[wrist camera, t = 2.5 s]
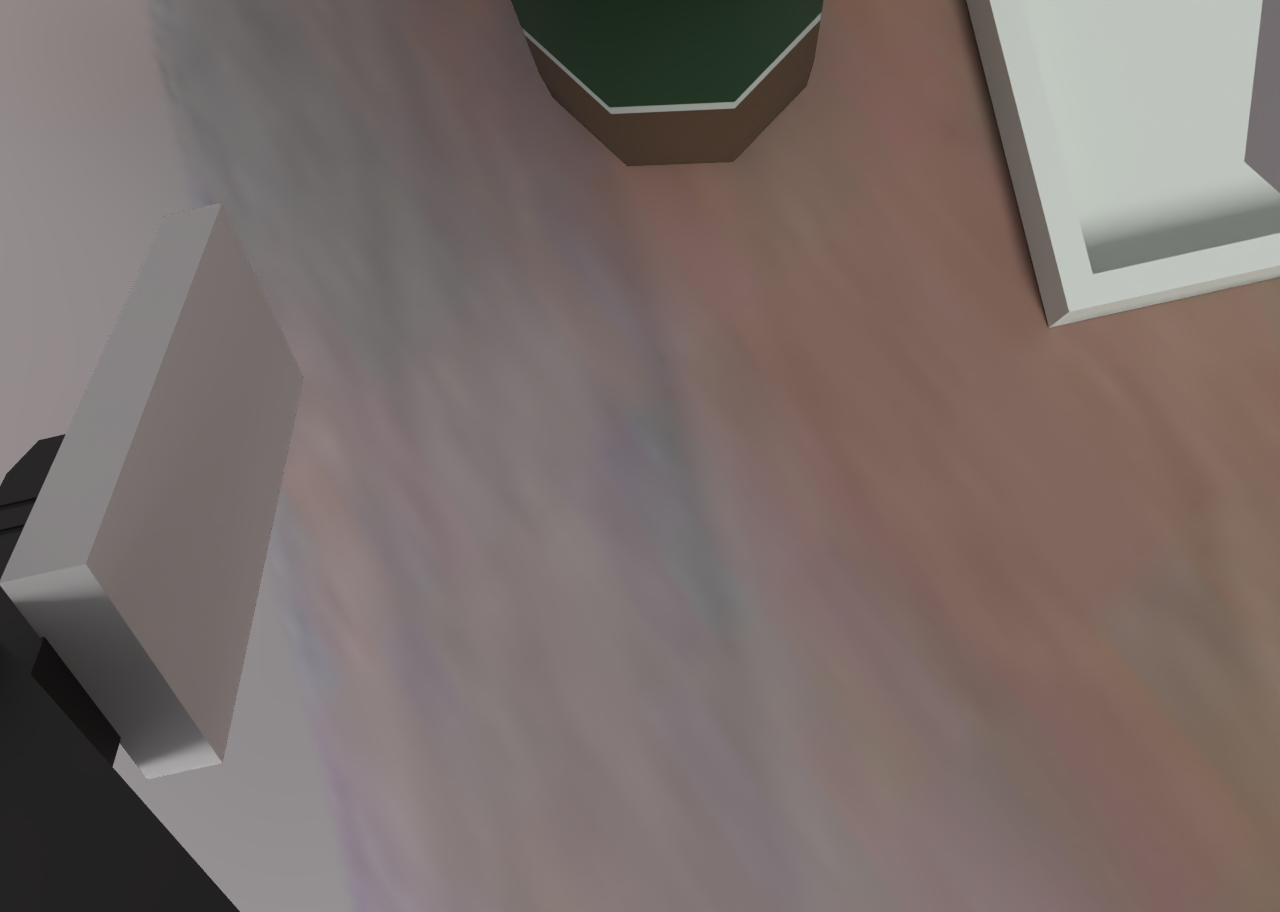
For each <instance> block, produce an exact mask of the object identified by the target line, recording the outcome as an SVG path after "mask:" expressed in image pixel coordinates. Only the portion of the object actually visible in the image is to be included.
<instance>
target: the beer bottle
mask: <svg viewBox="0 0 1280 912" xmlns="http://www.w3.org/2000/svg"><path fill="white" fill-rule="evenodd" d="M511 1H512V4H513V6H514V9H515V12H516V14H517V17H518V19H519V22H520V24H521V27H522V30H523V32H524V35H525V37H526V40H527V42H528V45H529V48H530V50H531V53H532V55H533V58H534V61H535V63H536V66H537V68H538V71H539V73H540V75H541V77H542V79H543V81H544V82H545V84H546V86H547V88H548V90H549V91H550V93H551V95H552V97H553V98H554V99H555V100H556V101H557V102H558V103H559V104H560V105H562V106H563V107H564V108H565V109H566V110H567V111H568V112H569V113H570V114H571V115H572V116H573V117H575V118H576V119H577V120H578V121H579V122H580V123H581V124H582V125H583V126H584V127H585V128H587V129H588V130H589V131H590V132H591V133H592V134H593V135H594V136H595V137H596V138H597V139H598V140H600V141H601V142H602V143H603V144H604V145H605V146H606V147H607V148H608V149H609V150H610V151H612V152H613V153H614V154H615V155H616V156H617V157H618V158H619V159H620V160H621V161H622V162H624V163H625V164H626V165H627V166H643V165H667V164H691V163H715V162H733V161H734V160H735V159H736V158H737V157H738V156H739V155H740V154H741V153H742V152H743V151H744V150H745V149H746V148H747V147H748V146H749V145H750V144H751V143H752V142H753V141H754V140H755V139H756V138H757V136H758V135H759V134H760V133H761V132H762V131H763V130H764V129H765V128H766V127H767V126H768V125H769V124H770V123H771V122H772V121H773V120H774V119H775V118H776V117H777V116H778V115H779V114H780V113H781V112H782V111H783V110H784V109H785V108H786V106H787V105H788V104H789V103H790V102H791V101H792V100H793V99H794V98H795V97H796V96H797V95H798V94H799V93H800V92H801V91H802V90H803V89H804V88H805V87H806V86H807V82H808V79H809V76H810V72H811V69H812V66H813V62H814V58H815V51H816V45H817V38H818V32H819V25H820V19H821V12H822V6H823V0H511Z"/></svg>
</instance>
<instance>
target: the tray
mask: <svg viewBox="0 0 1280 912" xmlns="http://www.w3.org/2000/svg"><path fill="white" fill-rule="evenodd" d="M966 2H967V6H968V10H969V14H970V18H971V22H972V26H973V30H974V34H975V38H976V42H977V46H978V49H979V53H980V57H981V61H982V65H983V69H984V73H985V77H986V81H987V85H988V89H989V93H990V97H991V101H992V105H993V109H994V113H995V117H996V121H997V125H998V129H999V132H1000V136H1001V140H1002V144H1003V148H1004V152H1005V156H1006V160H1007V164H1008V168H1009V172H1010V176H1011V180H1012V184H1013V188H1014V192H1015V196H1016V200H1017V204H1018V208H1019V212H1020V216H1021V219H1022V223H1023V227H1024V231H1025V235H1026V239H1027V243H1028V247H1029V251H1030V255H1031V259H1032V263H1033V267H1034V271H1035V275H1036V279H1037V283H1038V287H1039V291H1040V295H1041V299H1042V303H1043V306H1044V310H1045V314H1046V318H1047V322H1048V326H1049V328H1050V327H1055V326H1059V325H1064V324H1068V323H1073V322H1077V321H1082V320H1086V319H1091V318H1095V317H1100V316H1105V315H1109V314H1114V313H1118V312H1123V311H1127V310H1132V309H1136V308H1141V307H1145V306H1150V305H1155V304H1159V303H1164V302H1168V301H1173V300H1177V299H1182V298H1186V297H1191V296H1195V295H1200V294H1205V293H1209V292H1214V291H1218V290H1223V289H1227V288H1232V287H1236V286H1241V285H1245V284H1250V283H1255V282H1259V281H1264V280H1268V279H1273V278H1277V277H1280V193H1279V192H1278V191H1277V190H1275V189H1274V188H1273V187H1272V186H1271V185H1270V184H1269V183H1268V182H1266V181H1265V180H1264V179H1263V178H1262V177H1261V176H1260V175H1259V174H1257V173H1256V172H1255V171H1254V170H1253V169H1252V168H1251V167H1250V166H1249V165H1247V164H1246V163H1245V162H1244V159H1245V150H1246V141H1247V132H1248V124H1249V115H1250V106H1251V98H1252V89H1253V80H1254V72H1255V63H1256V54H1257V46H1258V37H1259V28H1260V19H1261V11H1262V2H1263V0H966Z"/></svg>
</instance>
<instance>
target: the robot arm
mask: <svg viewBox="0 0 1280 912" xmlns="http://www.w3.org/2000/svg"><path fill="white" fill-rule="evenodd" d="M1244 162H1245V163H1246V164H1247V165H1249V166H1250V167H1251V168H1252V169H1253V170H1254V171H1255V172H1256V173H1257V174H1259V175H1260V176H1261V177H1262V178H1263V179H1264V180H1265V181H1266V182H1268V183H1269V184H1270V185H1271V186H1272V187H1273V188H1274V189H1275V190H1277V191H1278V192H1279V193H1280V0H1263V2H1262V11H1261V19H1260V28H1259V37H1258V46H1257V54H1256V63H1255V72H1254V80H1253V89H1252V98H1251V106H1250V115H1249V124H1248V132H1247V141H1246V150H1245V159H1244ZM303 378H304V377H303V375H302V373H301V371H300V368H299V366H298V364H297V362H296V360H295V358H294V356H293V353H292V351H291V349H290V347H289V345H288V343H287V341H286V338H285V336H284V334H283V332H282V330H281V328H280V326H279V323H278V321H277V319H276V317H275V315H274V313H273V311H272V308H271V306H270V304H269V302H268V300H267V298H266V296H265V293H264V291H263V289H262V287H261V285H260V283H259V281H258V278H257V276H256V274H255V272H254V270H253V268H252V266H251V263H250V261H249V259H248V257H247V255H246V253H245V251H244V248H243V246H242V244H241V242H240V240H239V238H238V235H237V233H236V231H235V229H234V227H233V225H232V223H231V220H230V218H229V216H228V214H227V212H226V210H225V208H224V205H223V203H222V202H221V203H217V204H213V205H209V206H204V207H200V208H196V209H192V210H188V211H183V212H179V213H175V214H171V215H167V216H164V217H163V219H162V221H161V224H160V226H159V228H158V230H157V232H156V235H155V237H154V239H153V241H152V244H151V246H150V248H149V250H148V253H147V255H146V257H145V259H144V261H143V264H142V266H141V268H140V270H139V272H138V275H137V277H136V279H135V281H134V284H133V286H132V288H131V290H130V292H129V295H128V297H127V299H126V301H125V304H124V306H123V308H122V310H121V313H120V315H119V317H118V319H117V322H116V324H115V326H114V328H113V330H112V333H111V335H110V337H109V339H108V341H107V344H106V346H105V348H104V350H103V353H102V355H101V357H100V359H99V362H98V364H97V366H96V368H95V370H94V373H93V375H92V377H91V379H90V382H89V384H88V386H87V388H86V390H85V393H84V395H83V397H82V399H81V402H80V404H79V406H78V408H77V410H76V413H75V415H74V417H73V419H72V421H71V424H70V426H69V428H68V431H67V433H66V434H64V435H60V436H56V437H51V438H47V439H43V440H39V441H38V442H37V443H36V444H35V445H34V446H33V447H32V448H31V449H30V450H29V451H28V452H27V453H26V454H25V455H24V456H23V457H22V458H21V459H20V460H19V462H18V463H17V464H16V465H15V466H14V467H13V468H12V469H11V470H10V471H9V472H8V473H7V474H6V476H5V478H4V480H3V482H2V484H1V486H0V912H240V911H239V910H238V909H237V908H236V907H235V906H234V905H233V903H232V902H231V901H230V900H229V899H228V898H227V896H226V895H225V894H224V893H223V892H222V891H221V890H220V889H219V888H218V886H217V885H216V884H215V883H214V882H213V881H212V880H211V878H210V877H209V876H208V875H207V874H206V873H205V872H204V870H203V869H202V868H201V867H200V866H199V865H198V864H197V862H195V860H194V859H193V858H192V857H191V856H190V855H189V854H188V852H187V851H186V850H185V849H184V848H183V847H182V846H181V844H179V842H178V841H177V840H176V839H175V838H174V836H173V835H172V834H171V833H170V832H169V831H168V830H167V829H166V827H165V826H164V825H163V824H162V823H161V822H160V821H159V819H158V818H157V817H156V816H155V815H154V814H153V813H152V812H151V810H150V809H149V808H148V807H147V806H146V805H145V804H144V802H143V801H142V800H141V799H140V798H139V797H138V796H137V795H136V793H135V792H134V791H133V790H132V789H131V788H130V787H129V786H128V784H127V783H126V782H125V781H124V780H123V779H122V777H121V776H120V775H119V774H118V773H117V772H116V771H115V770H114V768H113V763H114V760H115V756H116V753H117V750H118V746H119V743H120V744H121V745H122V747H123V748H124V749H125V750H126V752H127V753H128V754H129V756H130V757H131V758H132V760H133V761H134V762H135V764H136V765H137V766H138V767H139V769H140V770H141V772H142V773H143V774H144V775H145V777H146V778H147V779H150V778H155V777H160V776H165V775H169V774H174V773H179V772H183V771H188V770H192V769H198V768H202V767H207V766H211V765H216V764H221V763H223V758H224V753H225V749H226V744H227V739H228V734H229V730H230V725H231V720H232V715H233V711H234V706H235V701H236V696H237V691H238V687H239V682H240V677H241V673H242V668H243V663H244V658H245V653H246V649H247V644H248V639H249V635H250V630H251V625H252V620H253V616H254V611H255V606H256V601H257V597H258V591H259V587H260V582H261V577H262V573H263V568H264V563H265V559H266V554H267V549H268V544H269V540H270V535H271V530H272V525H273V520H274V516H275V511H276V506H277V501H278V497H279V492H280V487H281V482H282V478H283V473H284V468H285V463H286V459H287V454H288V449H289V444H290V440H291V435H292V430H293V425H294V421H295V416H296V411H297V406H298V402H299V397H300V392H301V387H302V383H303Z"/></svg>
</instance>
